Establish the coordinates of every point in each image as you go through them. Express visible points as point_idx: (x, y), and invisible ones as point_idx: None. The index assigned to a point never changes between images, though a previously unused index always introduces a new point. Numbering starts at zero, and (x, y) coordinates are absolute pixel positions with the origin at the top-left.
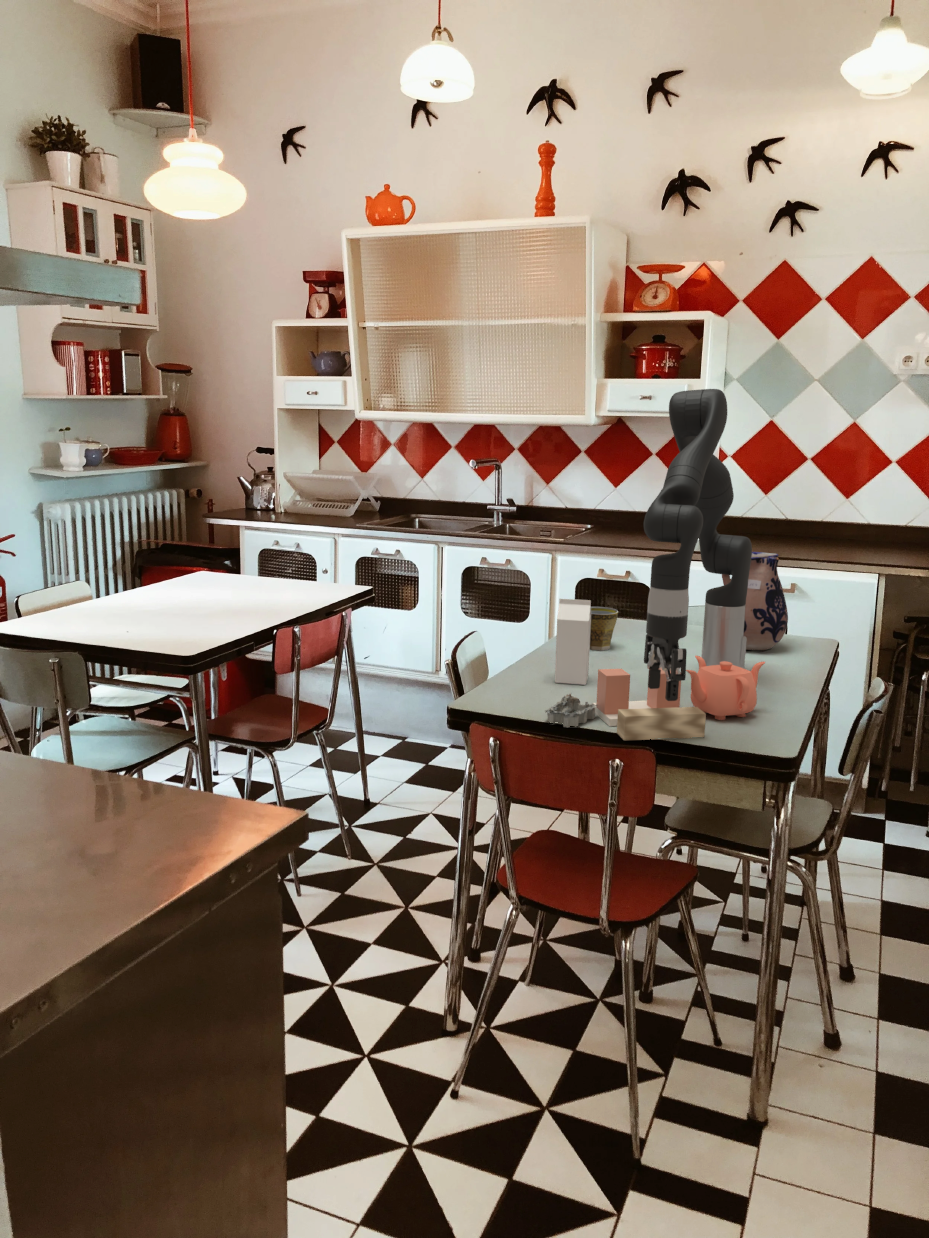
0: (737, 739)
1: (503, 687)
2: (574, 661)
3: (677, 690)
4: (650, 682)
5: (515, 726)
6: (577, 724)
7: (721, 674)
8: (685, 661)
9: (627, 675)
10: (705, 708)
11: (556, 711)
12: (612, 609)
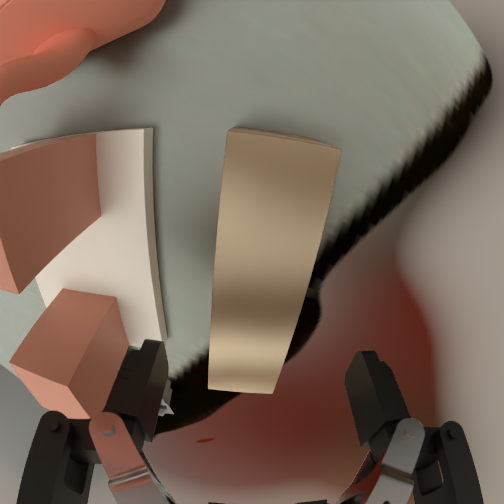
0: (359, 53)
1: (8, 362)
2: None
3: (399, 390)
4: (161, 389)
5: (166, 425)
6: (166, 382)
7: None
8: (479, 495)
9: (72, 391)
10: (111, 40)
11: None
12: None
